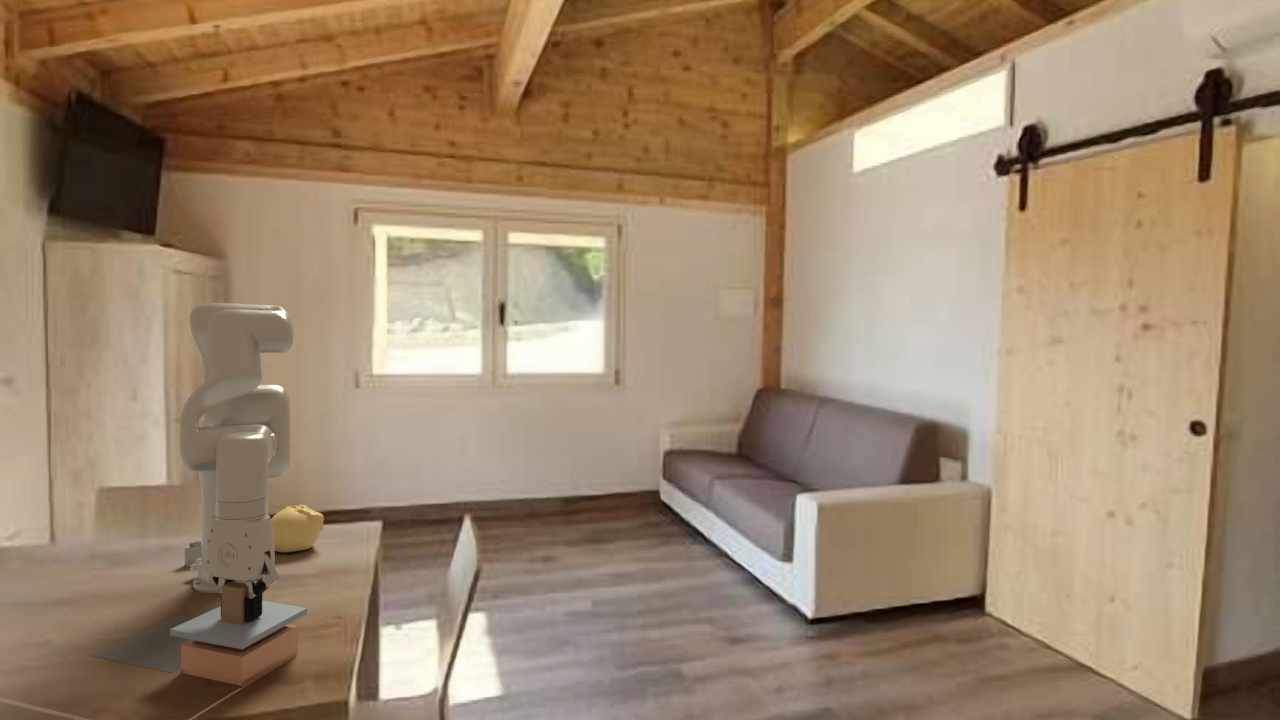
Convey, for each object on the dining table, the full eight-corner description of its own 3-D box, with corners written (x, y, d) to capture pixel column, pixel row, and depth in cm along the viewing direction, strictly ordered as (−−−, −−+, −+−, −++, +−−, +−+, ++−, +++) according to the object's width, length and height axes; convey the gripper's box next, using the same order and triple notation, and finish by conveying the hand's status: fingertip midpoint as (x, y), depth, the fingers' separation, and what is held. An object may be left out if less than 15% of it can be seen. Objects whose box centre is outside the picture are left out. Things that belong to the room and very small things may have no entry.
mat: (90, 657, 119) (90, 655, 119) (180, 617, 136) (180, 615, 136) (170, 675, 115) (170, 672, 115) (253, 631, 131) (253, 629, 131)
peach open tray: (181, 675, 115) (181, 644, 115) (240, 642, 126) (240, 615, 126) (242, 688, 112) (242, 657, 111) (297, 653, 123) (297, 625, 123)
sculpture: (330, 546, 179) (331, 503, 178) (289, 560, 168) (290, 515, 167) (298, 538, 184) (298, 497, 183) (256, 551, 173) (256, 508, 172)
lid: (170, 635, 114) (170, 592, 113) (240, 602, 127) (240, 563, 127) (242, 649, 110) (242, 605, 110) (306, 613, 124) (307, 574, 123)
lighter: (187, 567, 161) (187, 532, 161) (184, 565, 162) (184, 530, 162) (221, 559, 167) (221, 525, 166) (218, 557, 168) (218, 524, 167)
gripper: (181, 508, 116) (181, 618, 117) (266, 519, 112) (265, 633, 113) (219, 497, 123) (219, 600, 124) (301, 507, 119) (300, 615, 120)
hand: (241, 615), depth 119 cm, fingers closed on lid, 4 cm apart
